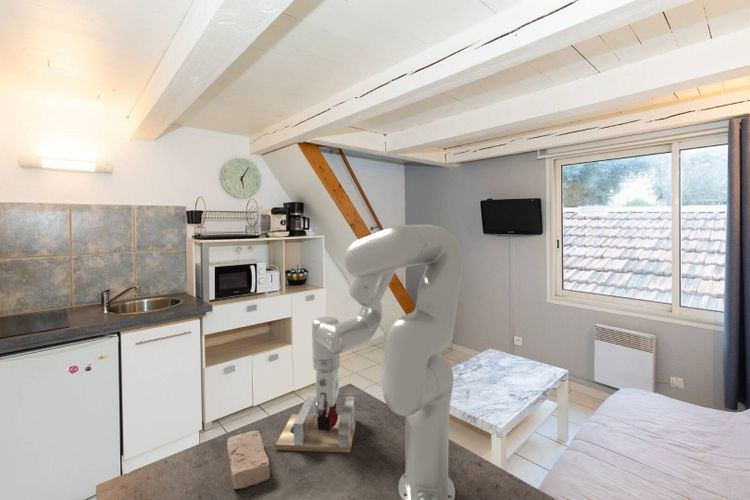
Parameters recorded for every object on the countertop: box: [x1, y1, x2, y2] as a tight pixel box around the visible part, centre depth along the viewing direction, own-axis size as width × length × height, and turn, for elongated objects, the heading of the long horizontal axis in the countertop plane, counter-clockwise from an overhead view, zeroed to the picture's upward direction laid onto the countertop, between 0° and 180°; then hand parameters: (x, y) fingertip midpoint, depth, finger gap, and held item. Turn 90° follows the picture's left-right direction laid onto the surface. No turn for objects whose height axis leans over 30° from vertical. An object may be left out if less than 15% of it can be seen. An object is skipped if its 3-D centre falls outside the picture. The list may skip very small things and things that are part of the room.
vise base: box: [275, 396, 357, 453], centre depth 101 cm, size 15×20×8 cm
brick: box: [226, 430, 271, 490], centre depth 88 cm, size 17×8×5 cm, turn 27°
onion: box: [316, 403, 338, 430], centre depth 100 cm, size 6×6×8 cm
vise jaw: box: [290, 395, 317, 445], centre depth 101 cm, size 15×4×6 cm, turn 177°
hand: (327, 419), depth 101 cm, fingers open, 9 cm apart
